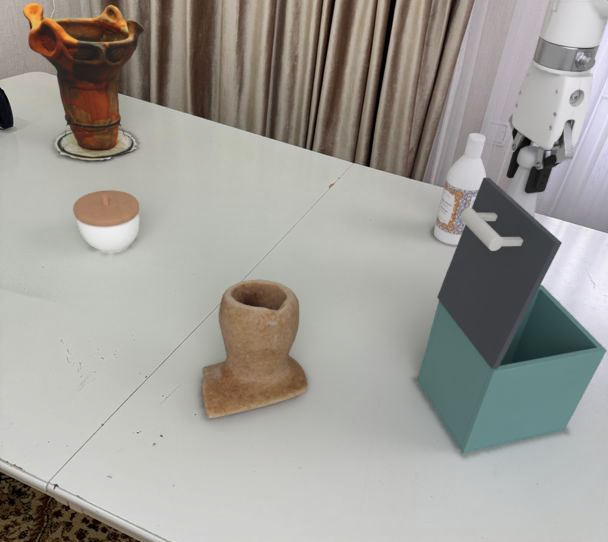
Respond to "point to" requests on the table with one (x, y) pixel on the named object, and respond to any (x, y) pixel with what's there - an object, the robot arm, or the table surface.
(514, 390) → the teal storage box
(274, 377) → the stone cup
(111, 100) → the decorative vase
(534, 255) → the dark gray box lid
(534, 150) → the salt shaker
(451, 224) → the bath foam
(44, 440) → the table surface
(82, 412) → the table surface
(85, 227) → the trinket box
